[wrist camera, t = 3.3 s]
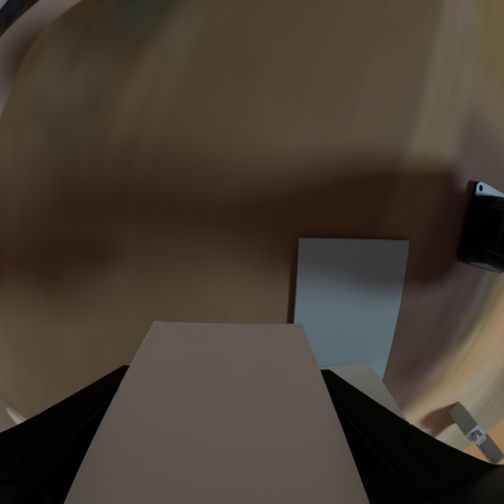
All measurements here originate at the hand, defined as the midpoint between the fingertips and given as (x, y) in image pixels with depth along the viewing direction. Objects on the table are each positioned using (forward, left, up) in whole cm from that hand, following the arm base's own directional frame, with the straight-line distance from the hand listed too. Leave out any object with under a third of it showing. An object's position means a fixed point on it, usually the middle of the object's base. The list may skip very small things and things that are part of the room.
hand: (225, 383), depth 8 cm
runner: (-11, +11, -12) cm, 20 cm away
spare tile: (0, 0, -2) cm, 2 cm away
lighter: (-29, +13, -12) cm, 34 cm away
